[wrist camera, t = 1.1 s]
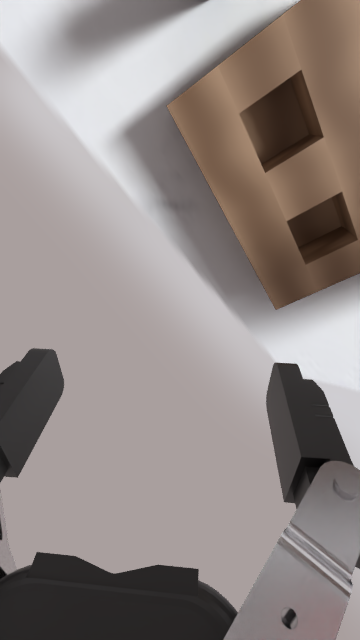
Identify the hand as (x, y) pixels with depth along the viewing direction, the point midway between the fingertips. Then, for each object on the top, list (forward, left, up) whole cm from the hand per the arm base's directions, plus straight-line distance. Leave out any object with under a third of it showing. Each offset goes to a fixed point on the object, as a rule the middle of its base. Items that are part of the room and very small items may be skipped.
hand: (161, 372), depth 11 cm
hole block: (-9, +2, -24) cm, 26 cm away
